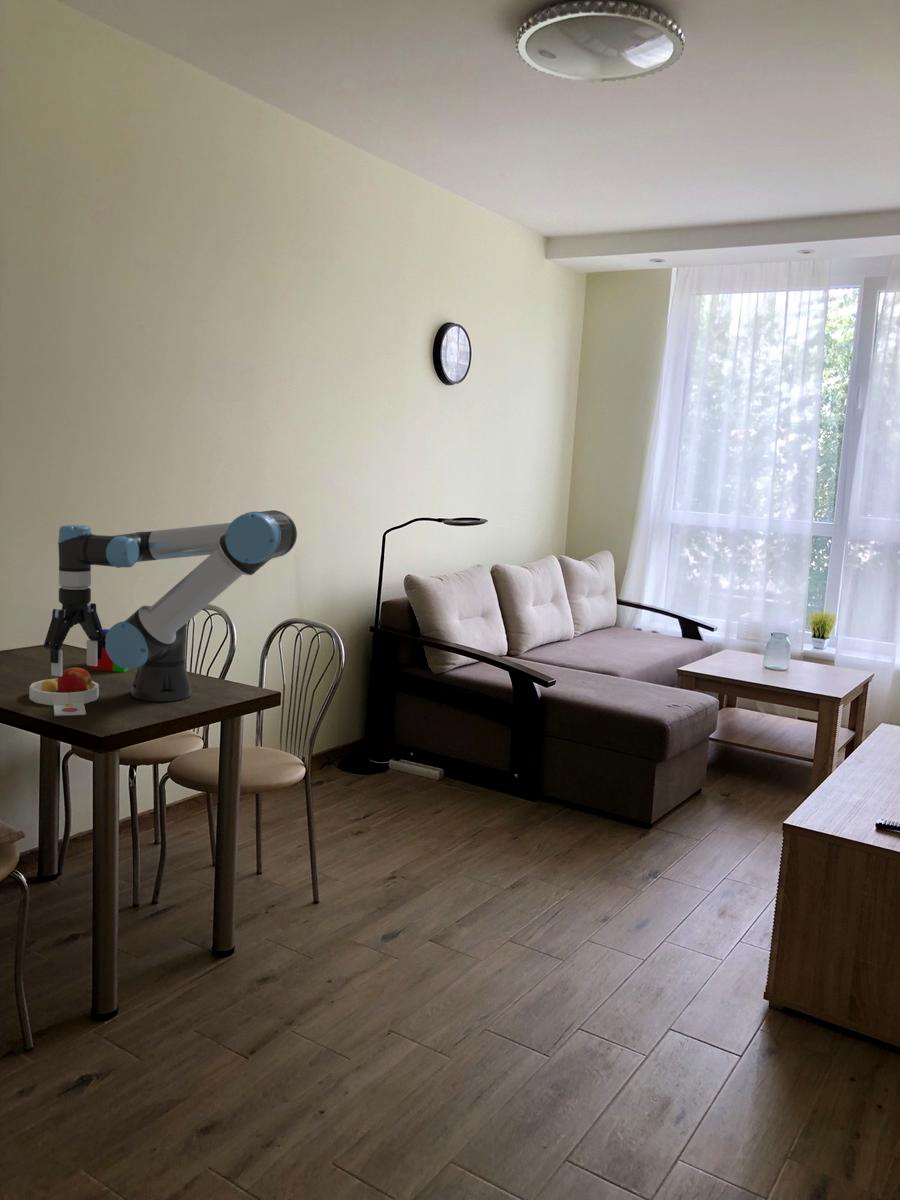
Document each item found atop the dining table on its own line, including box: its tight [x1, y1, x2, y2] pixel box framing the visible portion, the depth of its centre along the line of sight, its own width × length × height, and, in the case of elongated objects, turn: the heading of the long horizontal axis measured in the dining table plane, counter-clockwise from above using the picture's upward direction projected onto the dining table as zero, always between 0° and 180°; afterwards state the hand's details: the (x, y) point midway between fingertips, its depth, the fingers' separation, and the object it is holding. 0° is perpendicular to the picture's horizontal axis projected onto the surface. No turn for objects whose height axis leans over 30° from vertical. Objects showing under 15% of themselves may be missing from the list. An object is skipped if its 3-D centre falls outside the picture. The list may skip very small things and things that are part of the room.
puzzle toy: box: [89, 628, 130, 673], centre depth 290 cm, size 10×10×10 cm
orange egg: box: [41, 678, 58, 693], centre depth 255 cm, size 4×4×4 cm
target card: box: [53, 702, 87, 717], centre depth 244 cm, size 10×7×1 cm
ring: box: [28, 677, 100, 706], centre depth 254 cm, size 16×16×3 cm
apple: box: [57, 666, 93, 693], centre depth 253 cm, size 8×8×8 cm
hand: (74, 670), depth 253 cm, fingers open, 13 cm apart
